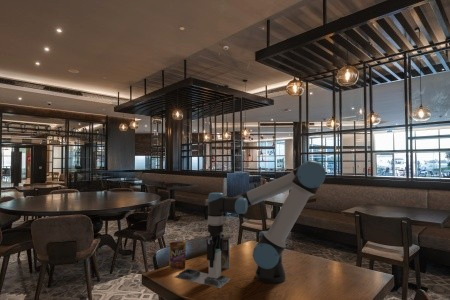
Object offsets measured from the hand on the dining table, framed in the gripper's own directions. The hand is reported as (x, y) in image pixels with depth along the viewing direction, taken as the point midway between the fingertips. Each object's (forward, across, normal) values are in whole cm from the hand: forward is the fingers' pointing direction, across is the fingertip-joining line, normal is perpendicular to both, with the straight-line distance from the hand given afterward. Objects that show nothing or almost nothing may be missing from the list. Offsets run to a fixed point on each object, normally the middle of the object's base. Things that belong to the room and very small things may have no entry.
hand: (214, 271), depth 139 cm
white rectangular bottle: (+2, 0, 0) cm, 2 cm away
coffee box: (+5, -19, -6) cm, 21 cm away
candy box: (+5, -5, -26) cm, 27 cm away
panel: (+5, 0, -7) cm, 9 cm away
